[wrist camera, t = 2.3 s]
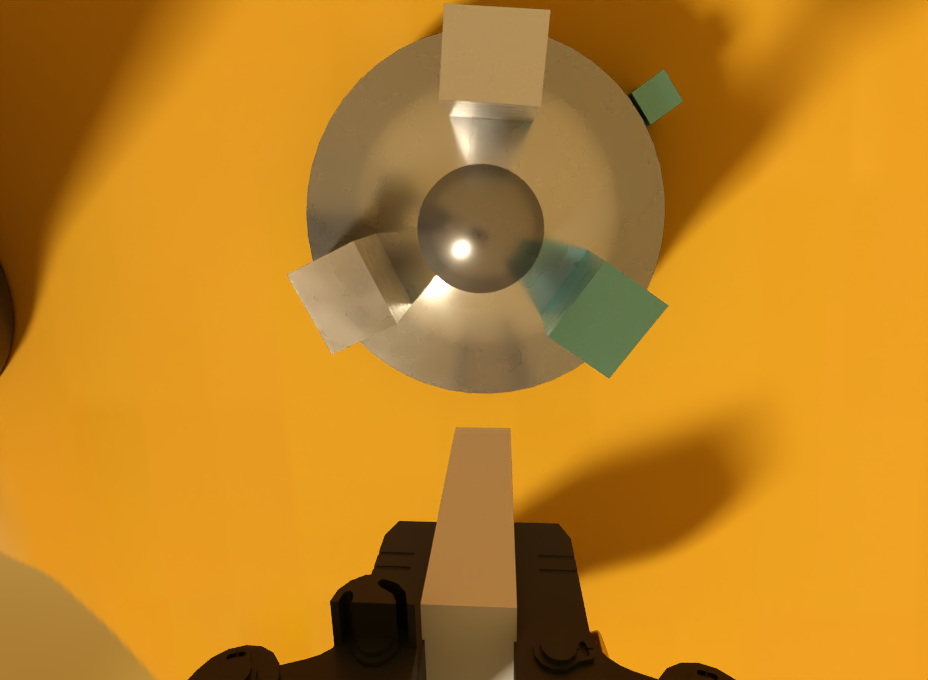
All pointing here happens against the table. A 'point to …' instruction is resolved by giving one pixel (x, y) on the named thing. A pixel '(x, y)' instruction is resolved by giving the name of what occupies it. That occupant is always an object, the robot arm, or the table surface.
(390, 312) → the lathe chuck
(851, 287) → the table surface
